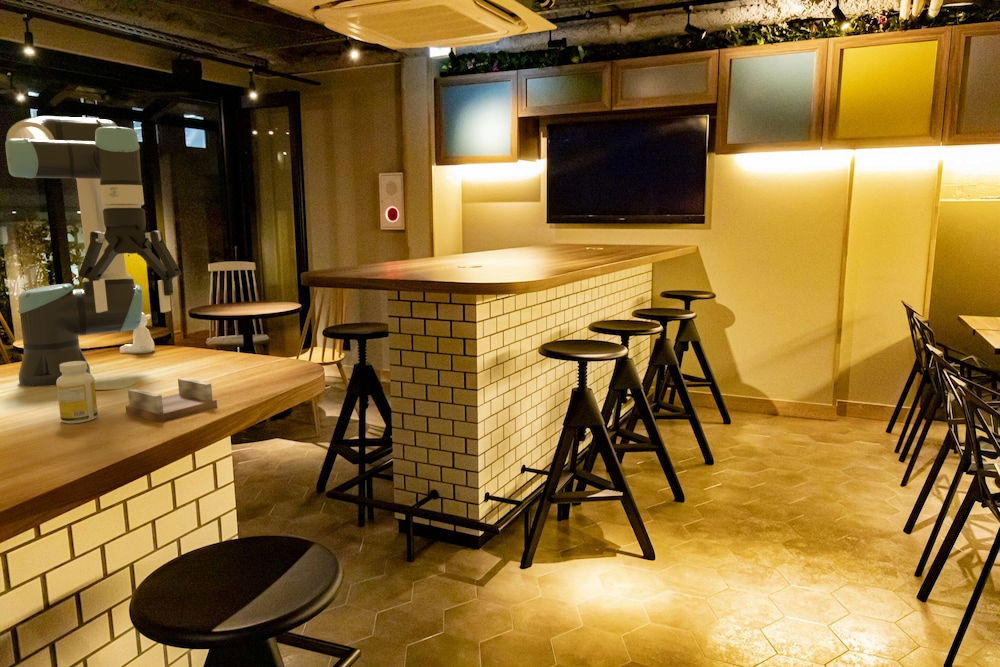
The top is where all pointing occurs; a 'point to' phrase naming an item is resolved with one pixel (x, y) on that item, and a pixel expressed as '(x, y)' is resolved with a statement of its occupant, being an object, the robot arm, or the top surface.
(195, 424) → the top surface
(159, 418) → the slot cradle
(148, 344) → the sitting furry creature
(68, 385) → the pill bottle
